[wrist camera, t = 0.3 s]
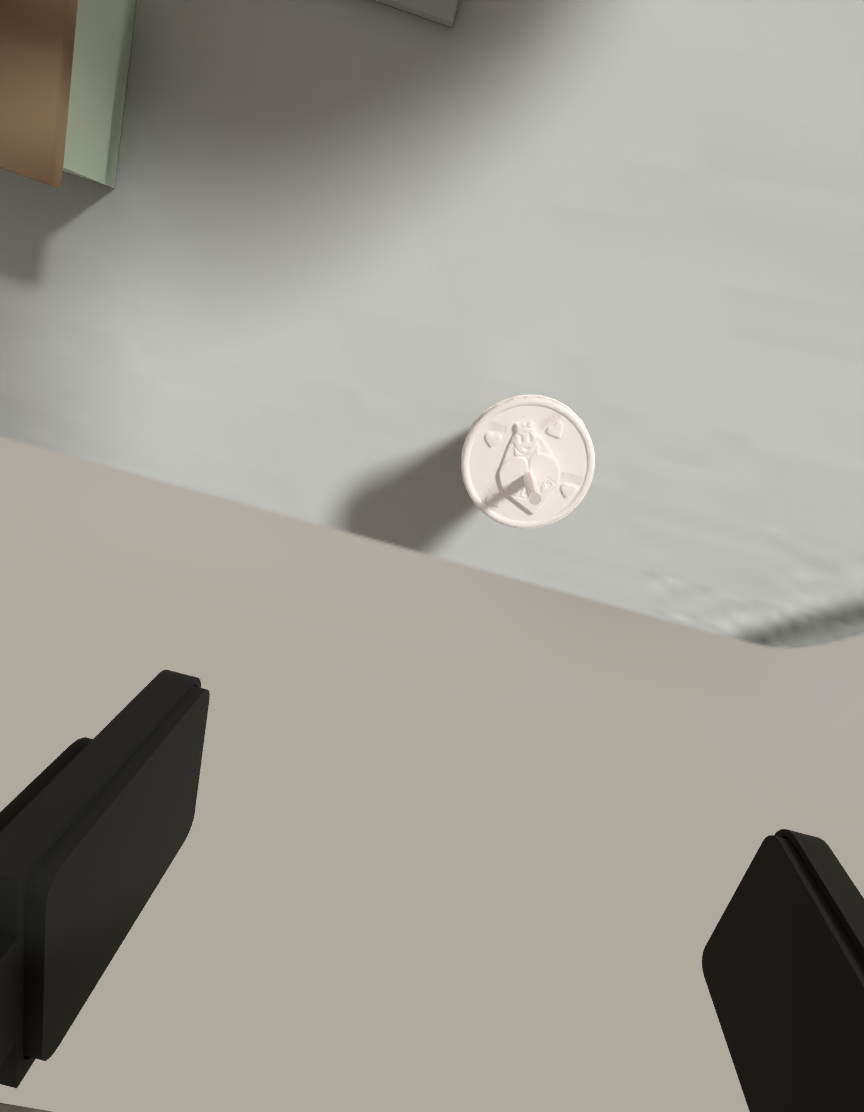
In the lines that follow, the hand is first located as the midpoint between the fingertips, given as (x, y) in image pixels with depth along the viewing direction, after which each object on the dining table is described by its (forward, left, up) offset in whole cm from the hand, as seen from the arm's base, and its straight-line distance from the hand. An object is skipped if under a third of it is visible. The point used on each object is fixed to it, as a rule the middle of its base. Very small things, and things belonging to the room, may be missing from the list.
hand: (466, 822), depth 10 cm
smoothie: (-2, +1, -31) cm, 31 cm away
